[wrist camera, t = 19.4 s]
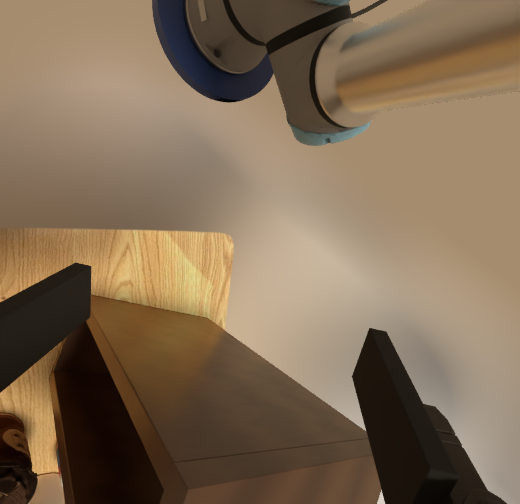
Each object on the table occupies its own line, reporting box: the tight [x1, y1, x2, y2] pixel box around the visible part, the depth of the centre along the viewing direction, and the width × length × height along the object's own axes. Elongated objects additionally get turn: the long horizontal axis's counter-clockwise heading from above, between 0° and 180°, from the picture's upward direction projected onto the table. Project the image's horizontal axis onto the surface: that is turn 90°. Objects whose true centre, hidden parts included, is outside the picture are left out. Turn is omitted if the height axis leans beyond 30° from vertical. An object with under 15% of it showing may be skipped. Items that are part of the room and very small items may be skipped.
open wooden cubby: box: [49, 295, 381, 504], centre depth 37 cm, size 22×13×38 cm, turn 66°
